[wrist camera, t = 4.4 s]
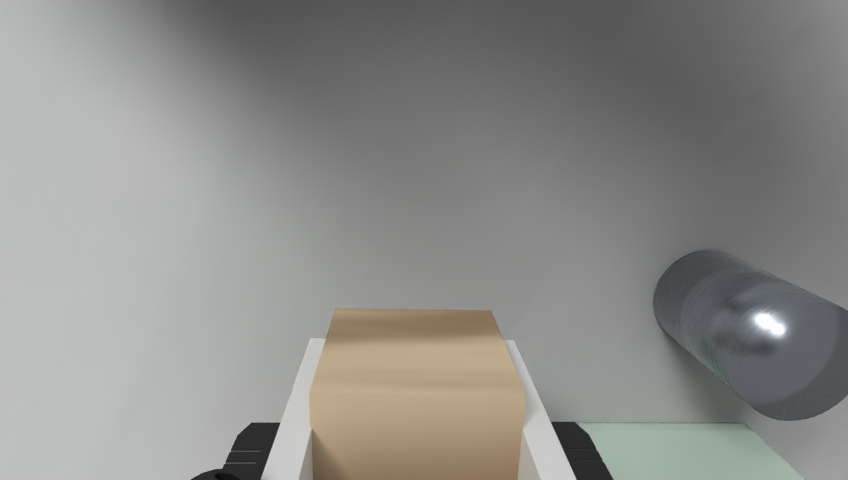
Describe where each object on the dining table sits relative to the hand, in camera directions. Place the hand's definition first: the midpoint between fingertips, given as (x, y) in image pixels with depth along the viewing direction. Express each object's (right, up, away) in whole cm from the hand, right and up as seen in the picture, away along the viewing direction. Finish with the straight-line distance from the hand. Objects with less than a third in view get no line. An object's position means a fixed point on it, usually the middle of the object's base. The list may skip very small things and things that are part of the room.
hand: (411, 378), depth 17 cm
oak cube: (0, 0, +1) cm, 1 cm away
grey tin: (+15, +2, +10) cm, 18 cm away
